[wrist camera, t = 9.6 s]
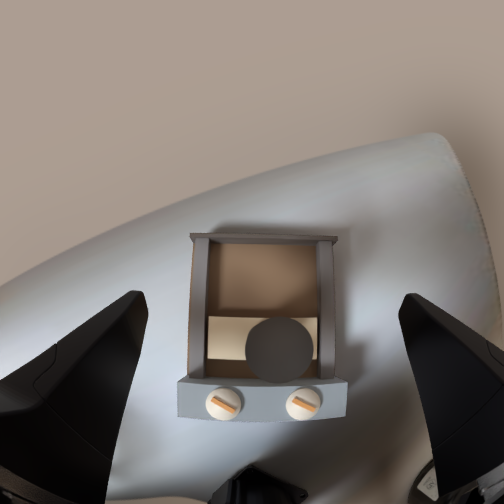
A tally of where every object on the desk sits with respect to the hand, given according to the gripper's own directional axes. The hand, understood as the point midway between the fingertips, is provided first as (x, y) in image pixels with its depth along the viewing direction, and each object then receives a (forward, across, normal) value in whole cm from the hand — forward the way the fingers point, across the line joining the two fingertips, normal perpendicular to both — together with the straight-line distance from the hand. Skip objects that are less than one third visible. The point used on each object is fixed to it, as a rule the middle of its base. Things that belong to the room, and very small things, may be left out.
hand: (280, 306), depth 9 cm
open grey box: (+8, 0, +9) cm, 13 cm away
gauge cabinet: (+5, 0, +13) cm, 14 cm away
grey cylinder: (+7, 0, +9) cm, 12 cm away
